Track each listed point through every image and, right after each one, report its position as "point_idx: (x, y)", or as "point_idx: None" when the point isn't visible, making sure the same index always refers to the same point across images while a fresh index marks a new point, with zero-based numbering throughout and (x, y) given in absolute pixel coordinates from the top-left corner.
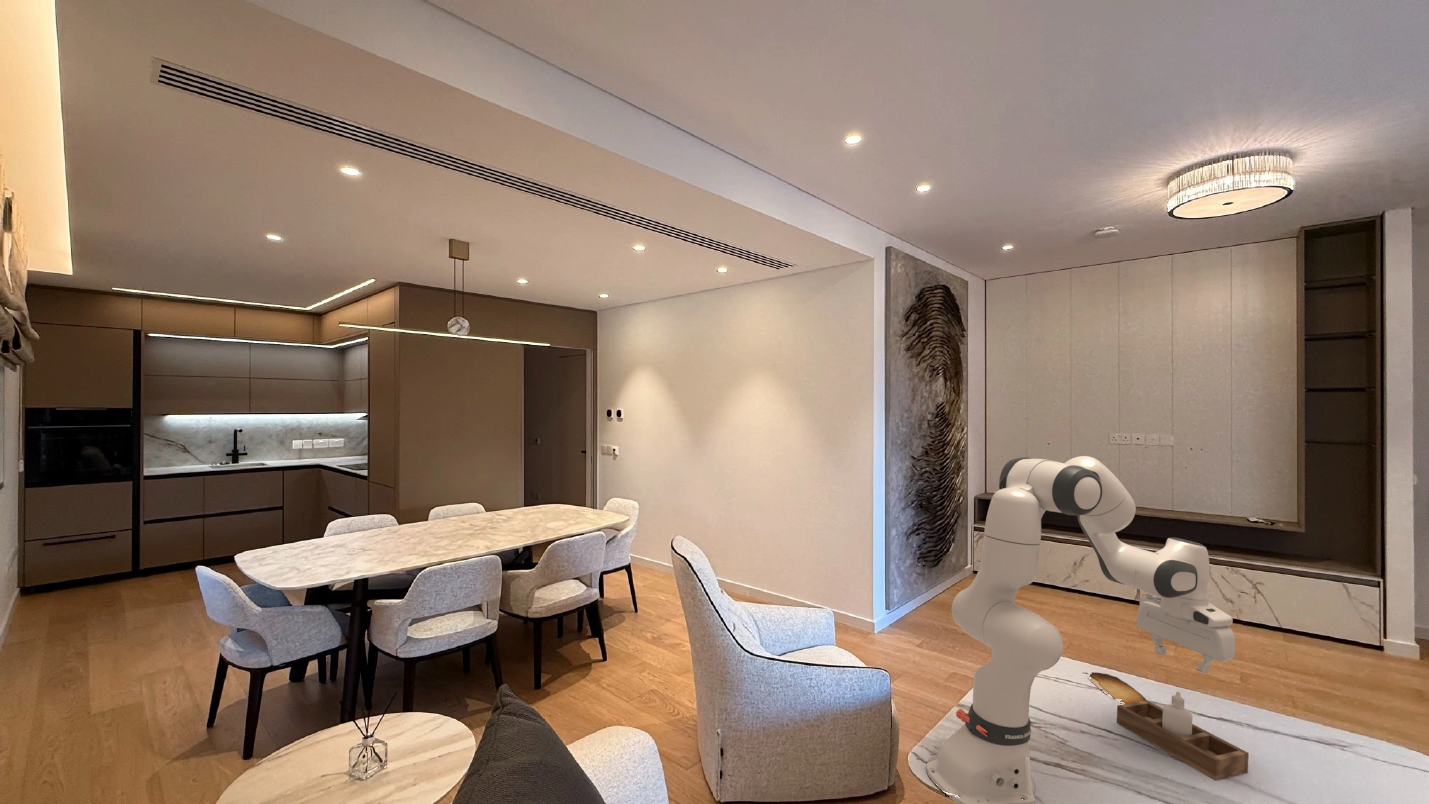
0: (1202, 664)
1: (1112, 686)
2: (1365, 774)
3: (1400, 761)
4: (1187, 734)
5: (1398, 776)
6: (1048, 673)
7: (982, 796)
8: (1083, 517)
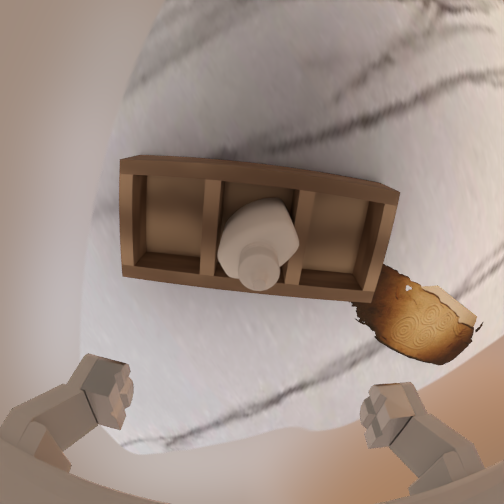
0: (66, 390)
1: (439, 329)
2: None
3: (133, 449)
4: (227, 227)
5: None
6: None
7: None
8: None
